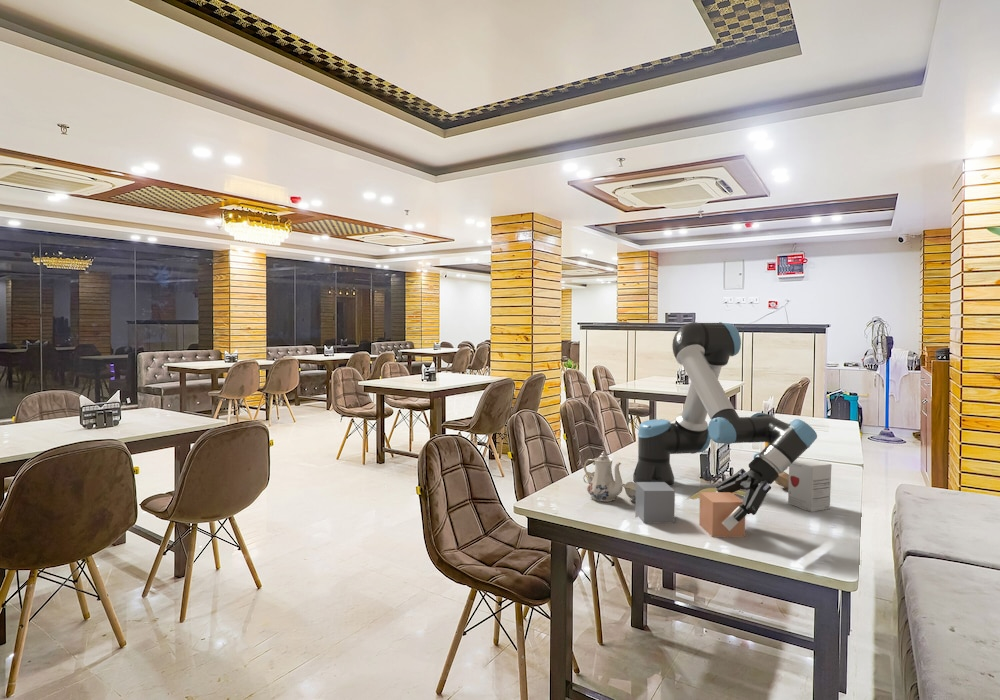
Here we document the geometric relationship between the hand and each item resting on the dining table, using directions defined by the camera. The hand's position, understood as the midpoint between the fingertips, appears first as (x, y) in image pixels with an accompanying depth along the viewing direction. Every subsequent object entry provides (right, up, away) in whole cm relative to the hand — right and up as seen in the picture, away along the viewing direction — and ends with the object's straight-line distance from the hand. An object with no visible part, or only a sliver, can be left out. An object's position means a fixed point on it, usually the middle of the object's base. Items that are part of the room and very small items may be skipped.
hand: (714, 518), depth 150 cm
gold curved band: (+13, -5, +27) cm, 30 cm away
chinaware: (-23, -4, +36) cm, 43 cm away
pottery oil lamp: (+45, -4, +44) cm, 63 cm away
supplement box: (+42, -5, +26) cm, 49 cm away
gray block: (-14, -5, +10) cm, 18 cm away
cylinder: (+48, -3, +63) cm, 79 cm away
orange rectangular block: (+2, -5, 0) cm, 5 cm away
